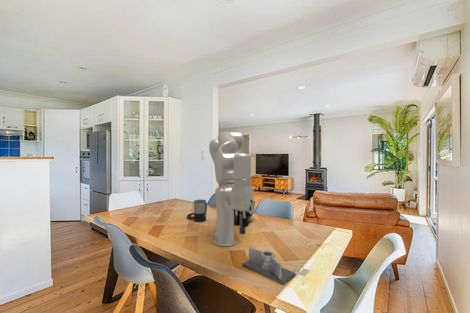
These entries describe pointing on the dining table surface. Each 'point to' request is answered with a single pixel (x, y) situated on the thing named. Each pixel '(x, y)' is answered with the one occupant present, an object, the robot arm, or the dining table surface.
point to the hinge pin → (241, 229)
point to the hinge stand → (257, 267)
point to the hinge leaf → (273, 267)
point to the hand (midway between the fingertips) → (242, 225)
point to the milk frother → (199, 211)
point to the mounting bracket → (301, 271)
